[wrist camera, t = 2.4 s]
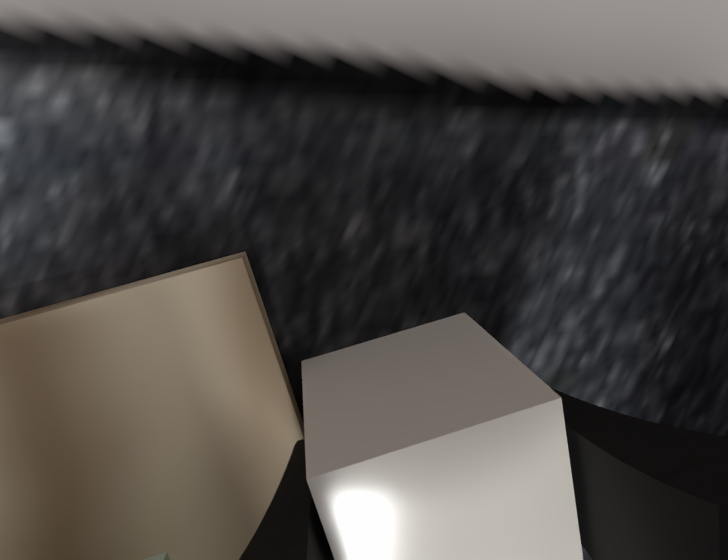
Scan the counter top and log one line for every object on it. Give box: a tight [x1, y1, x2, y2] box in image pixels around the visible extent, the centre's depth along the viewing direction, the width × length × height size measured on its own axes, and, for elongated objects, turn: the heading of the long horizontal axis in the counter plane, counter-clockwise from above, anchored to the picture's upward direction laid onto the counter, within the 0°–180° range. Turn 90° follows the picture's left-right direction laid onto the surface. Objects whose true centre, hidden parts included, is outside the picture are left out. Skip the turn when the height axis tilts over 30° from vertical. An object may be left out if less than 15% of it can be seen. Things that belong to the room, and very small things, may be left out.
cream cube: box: [301, 312, 583, 560], centre depth 11 cm, size 5×5×5 cm
